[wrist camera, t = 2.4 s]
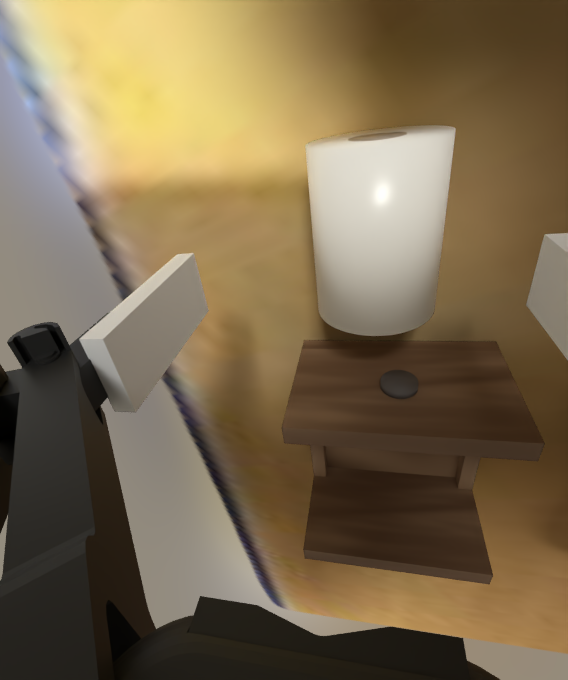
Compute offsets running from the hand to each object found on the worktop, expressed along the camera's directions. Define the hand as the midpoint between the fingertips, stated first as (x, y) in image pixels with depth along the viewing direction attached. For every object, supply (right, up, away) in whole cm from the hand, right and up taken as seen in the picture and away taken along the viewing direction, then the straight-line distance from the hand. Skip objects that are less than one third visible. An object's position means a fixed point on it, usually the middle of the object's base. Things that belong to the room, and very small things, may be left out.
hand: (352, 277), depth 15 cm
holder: (+5, -8, +13) cm, 16 cm away
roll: (+2, +4, +6) cm, 7 cm away
